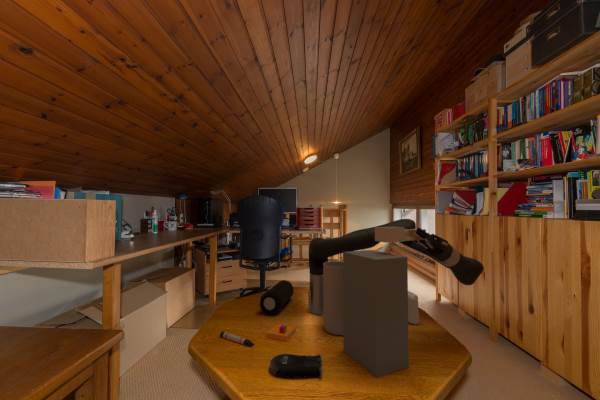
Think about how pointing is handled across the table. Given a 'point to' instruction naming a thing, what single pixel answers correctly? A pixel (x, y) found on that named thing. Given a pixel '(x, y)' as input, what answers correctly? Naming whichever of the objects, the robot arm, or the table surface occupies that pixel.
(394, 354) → the tall shelf
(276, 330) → the orange wooden platform
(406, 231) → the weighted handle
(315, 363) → the electronic device
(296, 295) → the table surface
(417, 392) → the table surface
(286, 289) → the portable speaker
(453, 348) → the table surface
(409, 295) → the photo printer
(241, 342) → the marker
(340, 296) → the cylinder vase
